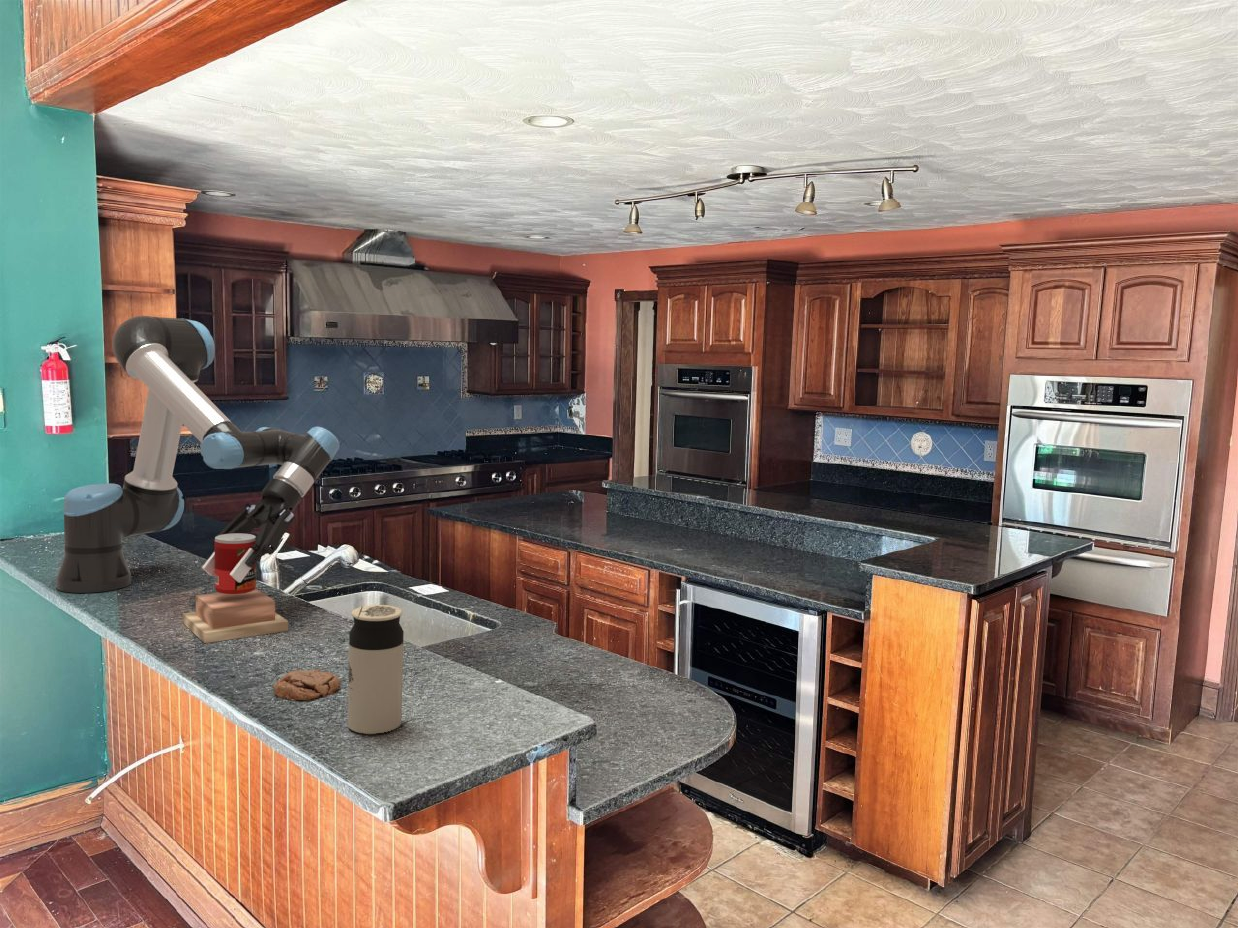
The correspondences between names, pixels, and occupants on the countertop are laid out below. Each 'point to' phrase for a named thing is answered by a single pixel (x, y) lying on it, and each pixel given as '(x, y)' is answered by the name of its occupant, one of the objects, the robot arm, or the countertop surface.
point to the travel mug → (375, 669)
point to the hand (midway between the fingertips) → (220, 575)
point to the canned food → (233, 563)
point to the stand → (234, 616)
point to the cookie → (306, 685)
